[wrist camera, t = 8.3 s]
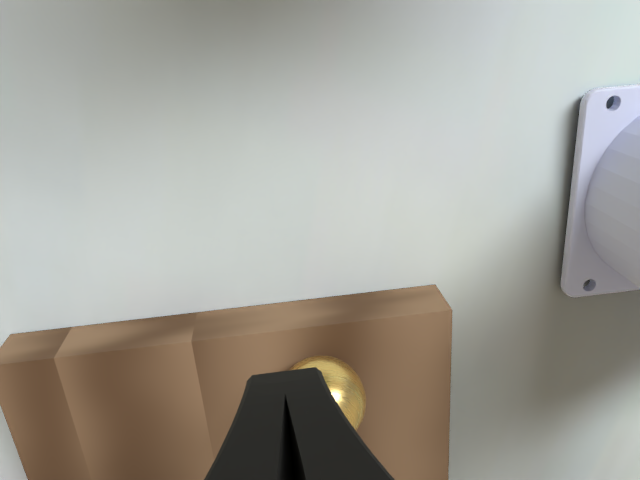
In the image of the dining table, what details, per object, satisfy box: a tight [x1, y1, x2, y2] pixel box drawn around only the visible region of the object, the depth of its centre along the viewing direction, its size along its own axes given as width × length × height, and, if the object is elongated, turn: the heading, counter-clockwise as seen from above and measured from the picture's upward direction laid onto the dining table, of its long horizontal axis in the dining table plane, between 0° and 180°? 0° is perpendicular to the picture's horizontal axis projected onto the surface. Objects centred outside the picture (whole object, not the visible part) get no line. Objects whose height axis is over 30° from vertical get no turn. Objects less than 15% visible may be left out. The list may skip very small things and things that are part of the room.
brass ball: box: [290, 356, 366, 431], centre depth 18 cm, size 3×3×3 cm
